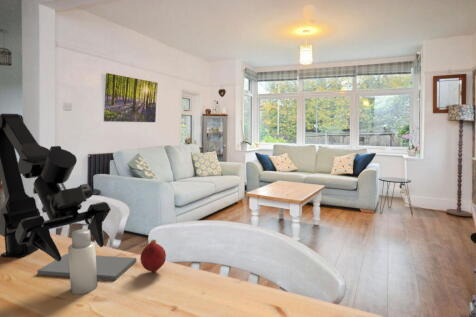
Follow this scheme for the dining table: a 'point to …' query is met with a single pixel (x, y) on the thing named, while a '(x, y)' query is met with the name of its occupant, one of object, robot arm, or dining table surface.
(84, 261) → the white bottle
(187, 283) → the dining table surface
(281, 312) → the dining table surface
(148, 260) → the onion
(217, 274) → the dining table surface
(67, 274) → the slate board
